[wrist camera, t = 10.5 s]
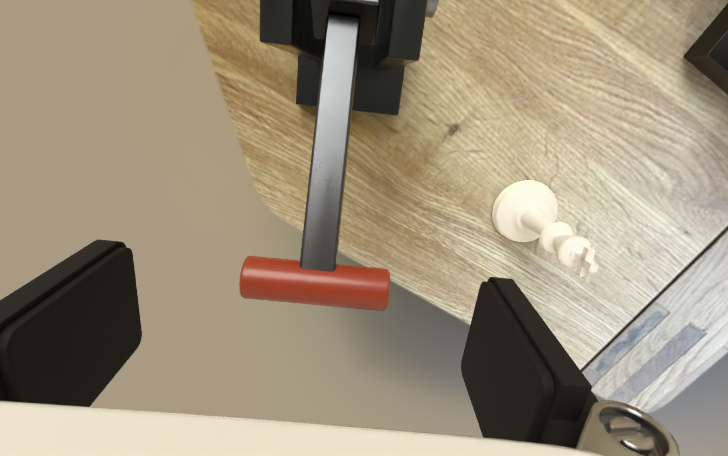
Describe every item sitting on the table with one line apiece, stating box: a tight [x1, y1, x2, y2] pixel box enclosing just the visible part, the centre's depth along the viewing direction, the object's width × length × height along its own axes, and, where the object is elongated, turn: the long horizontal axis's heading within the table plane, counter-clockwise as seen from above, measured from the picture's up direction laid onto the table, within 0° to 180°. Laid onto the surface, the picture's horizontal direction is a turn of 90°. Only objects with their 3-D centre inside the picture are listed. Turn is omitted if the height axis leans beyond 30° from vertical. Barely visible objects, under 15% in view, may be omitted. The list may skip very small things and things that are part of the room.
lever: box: [240, 0, 390, 311], centre depth 13 cm, size 12×4×2 cm, turn 174°
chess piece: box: [492, 180, 599, 277], centre depth 26 cm, size 5×5×10 cm
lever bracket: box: [260, 0, 438, 115], centre depth 19 cm, size 10×7×16 cm
